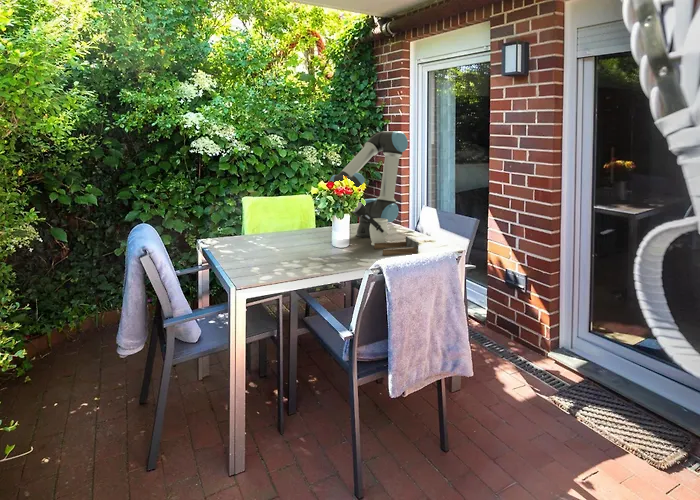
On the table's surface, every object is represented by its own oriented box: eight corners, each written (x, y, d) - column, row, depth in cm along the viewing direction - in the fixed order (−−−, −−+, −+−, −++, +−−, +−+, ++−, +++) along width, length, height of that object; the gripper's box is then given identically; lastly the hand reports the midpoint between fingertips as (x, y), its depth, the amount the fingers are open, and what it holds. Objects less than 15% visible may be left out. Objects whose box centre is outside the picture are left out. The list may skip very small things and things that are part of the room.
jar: (386, 242, 307) (386, 217, 304) (388, 246, 297) (389, 220, 294) (368, 242, 307) (368, 217, 303) (370, 247, 297) (370, 221, 293)
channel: (374, 248, 293) (374, 238, 292) (407, 246, 298) (407, 236, 297) (383, 255, 278) (383, 244, 276) (418, 252, 283) (418, 242, 281)
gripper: (347, 209, 304) (373, 234, 312) (358, 216, 283) (385, 242, 290) (356, 200, 304) (381, 225, 312) (367, 206, 283) (394, 232, 290)
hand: (383, 233), depth 301 cm, fingers closed on jar, 10 cm apart
